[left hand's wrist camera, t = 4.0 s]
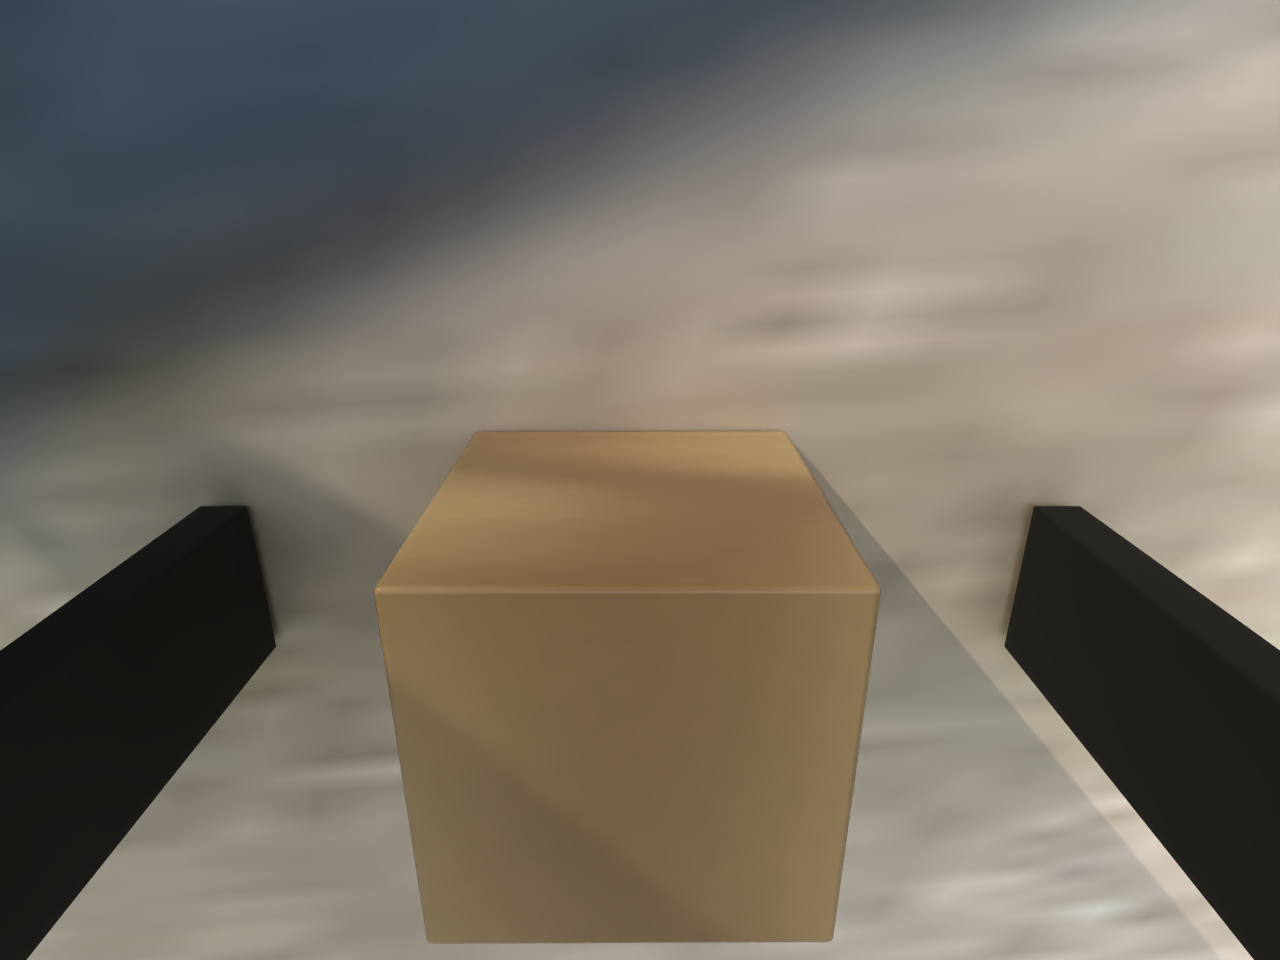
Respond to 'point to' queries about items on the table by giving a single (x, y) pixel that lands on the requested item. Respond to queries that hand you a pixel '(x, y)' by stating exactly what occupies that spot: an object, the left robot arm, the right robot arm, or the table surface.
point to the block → (628, 690)
